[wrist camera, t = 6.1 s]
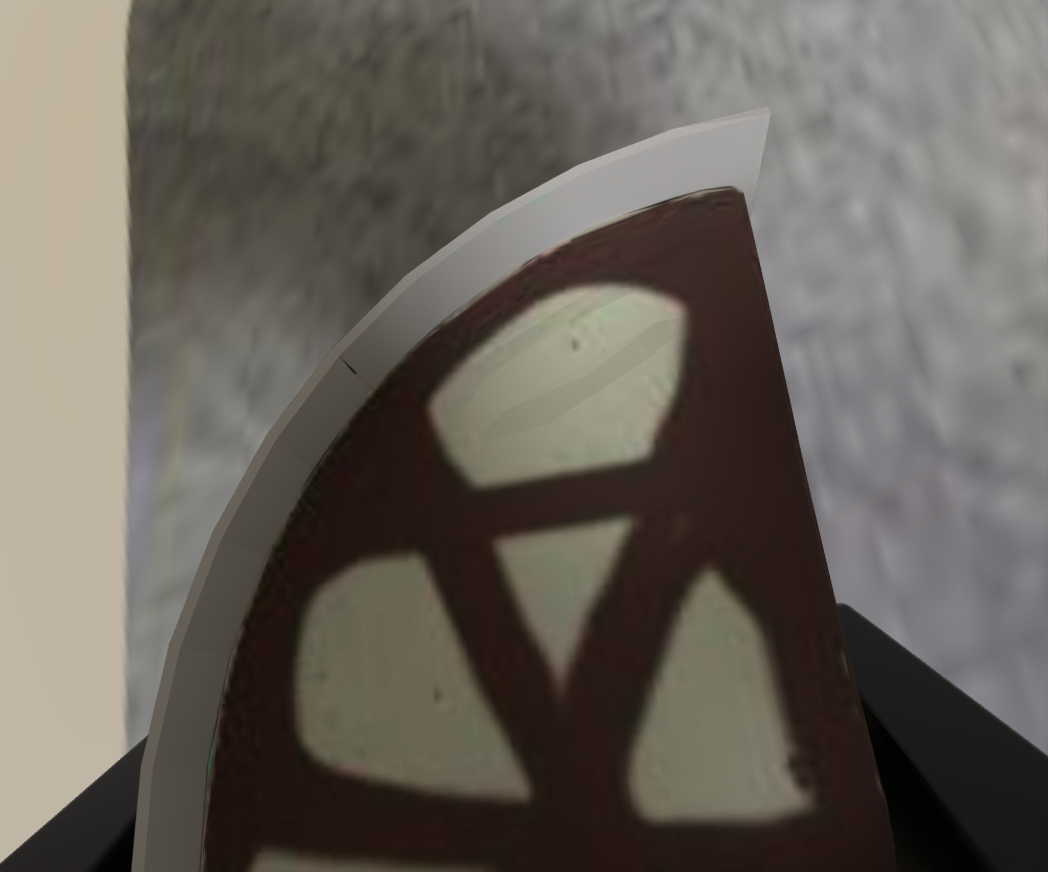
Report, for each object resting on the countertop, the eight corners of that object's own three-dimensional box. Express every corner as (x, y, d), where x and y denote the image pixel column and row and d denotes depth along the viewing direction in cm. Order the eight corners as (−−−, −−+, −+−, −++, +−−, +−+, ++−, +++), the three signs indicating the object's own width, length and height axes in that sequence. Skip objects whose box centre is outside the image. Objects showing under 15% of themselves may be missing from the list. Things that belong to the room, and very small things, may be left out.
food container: (376, 455, 17) (85, 164, 8) (680, 413, 17) (757, 53, 8) (421, 1193, 14) (-21, 2294, 4) (811, 1162, 13) (1287, 2310, 4)
